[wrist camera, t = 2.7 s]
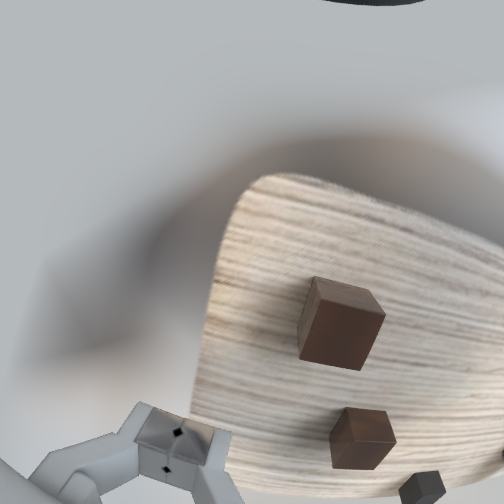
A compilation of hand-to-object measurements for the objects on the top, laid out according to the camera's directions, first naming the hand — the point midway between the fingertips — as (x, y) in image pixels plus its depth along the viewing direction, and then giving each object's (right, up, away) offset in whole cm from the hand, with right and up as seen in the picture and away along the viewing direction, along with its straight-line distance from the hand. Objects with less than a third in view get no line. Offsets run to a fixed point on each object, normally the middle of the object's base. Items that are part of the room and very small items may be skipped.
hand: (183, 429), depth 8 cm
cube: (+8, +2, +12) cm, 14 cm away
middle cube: (+12, -10, +14) cm, 21 cm away
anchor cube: (+23, -23, +16) cm, 37 cm away
